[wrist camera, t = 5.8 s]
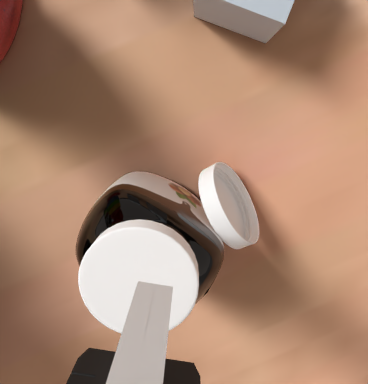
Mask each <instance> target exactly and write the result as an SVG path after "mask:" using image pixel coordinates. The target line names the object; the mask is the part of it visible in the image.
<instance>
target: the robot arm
mask: <svg viewBox="0 0 368 384" xmlns="http://www.w3.org/2000/svg"><path fill="white" fill-rule="evenodd" d="M172 293H173V287H172V286H166V285H159V284H153V283H147V282H141V281H138V283H137V286H136V289H135V292H134V296H133V299H132V302H131V305H130V308H129V311H128V315H127V318H126V321H125V324H124V327H123V331H122V334H121V337H120V340H119V343H118V346H117V350H116V352H113V351H106V350H100V349H93V348H89V349H88V350H86V351H85V352H84V353H83V354H82V355H81V356H80V357H79V358H78V359H77V361H76V364H75V366H74V368H73V370H72V373H71V374H70V377H69V379H68V381H67V383H66V384H200V375H199V373H198V371H197V369H196V367H195V365H194V363H190V362H184V361H177V360H171V359H166V350H167V340H168V331H169V321H170V312H171V302H172Z"/></svg>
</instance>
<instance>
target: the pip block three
mask: <svg viewBox="0 0 368 384" xmlns="http://www.w3.org/2000/svg"><path fill="white" fill-rule="evenodd" d="M293 3H294V0H193V5H194V17H196V18H199V19H202V20H204V21H207V22H210V23H212V24H215V25H218V26H220V27H223V28H226V29H228V30H231V31H234V32H236V33H239V34H242V35H244V36H247V37H250V38H252V39H255V40H258V41H260V42H263V43H267V42H268V41H269V40H270V39H271V38H272V37H273V36H274V35H275V34H276V33H277V32H278V31H279V30H280V29H281V28H282V27H283V26H284V25H285V23H286V21H287V18H288V16H289V13H290V10H291V8H292V5H293Z"/></svg>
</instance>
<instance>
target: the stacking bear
mask: <svg viewBox="0 0 368 384" xmlns="http://www.w3.org/2000/svg"><path fill="white" fill-rule="evenodd" d="M21 9H22V0H0V62H1V60H2V59H3V58H4V57H5V55H6V53H7V51H8V50H9V48H10V46H11V44H12V42H13V39H14V37H15V34H16V31H17V28H18V25H19V20H20V16H21Z"/></svg>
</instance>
